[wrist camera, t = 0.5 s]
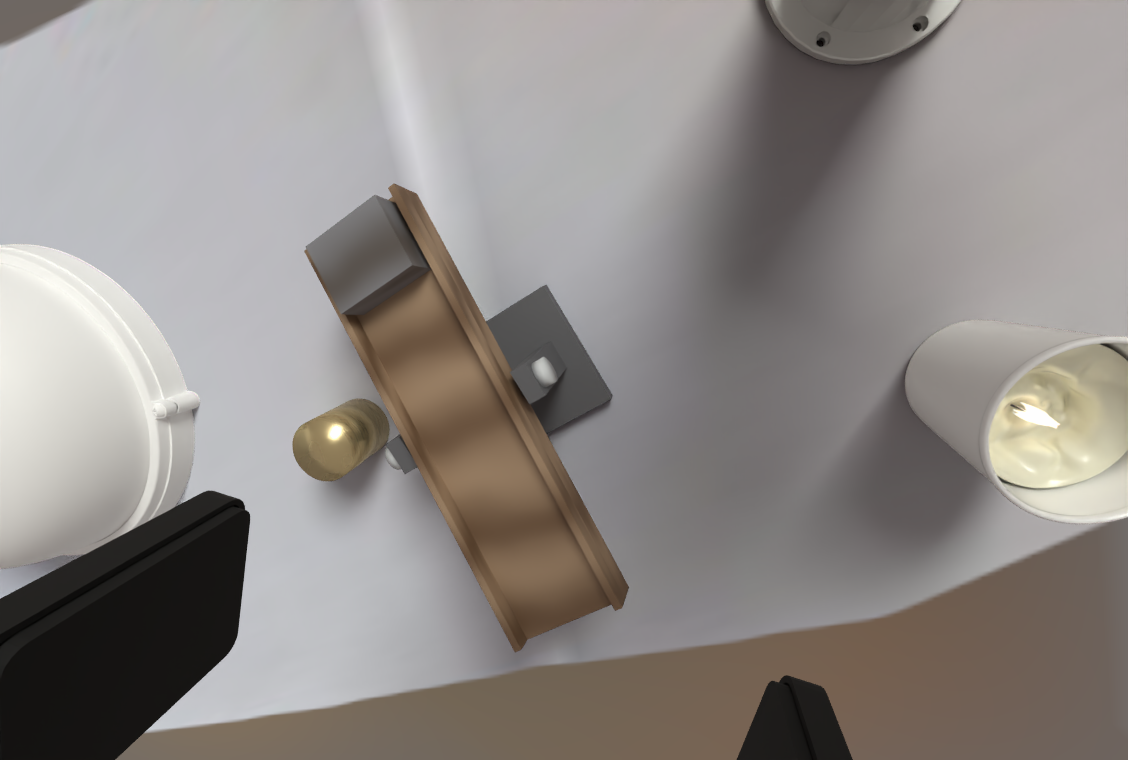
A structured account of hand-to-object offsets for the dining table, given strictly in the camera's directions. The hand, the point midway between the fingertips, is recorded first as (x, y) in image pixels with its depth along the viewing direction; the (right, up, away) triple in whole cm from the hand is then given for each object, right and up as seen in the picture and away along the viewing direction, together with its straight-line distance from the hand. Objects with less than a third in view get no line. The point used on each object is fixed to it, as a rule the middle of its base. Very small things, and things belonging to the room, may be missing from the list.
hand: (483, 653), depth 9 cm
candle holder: (+30, +5, +30) cm, 42 cm away
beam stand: (-4, +4, +36) cm, 36 cm away
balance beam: (-5, +2, +28) cm, 28 cm away
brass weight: (-16, +1, +39) cm, 42 cm away
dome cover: (-48, +3, +44) cm, 65 cm away
